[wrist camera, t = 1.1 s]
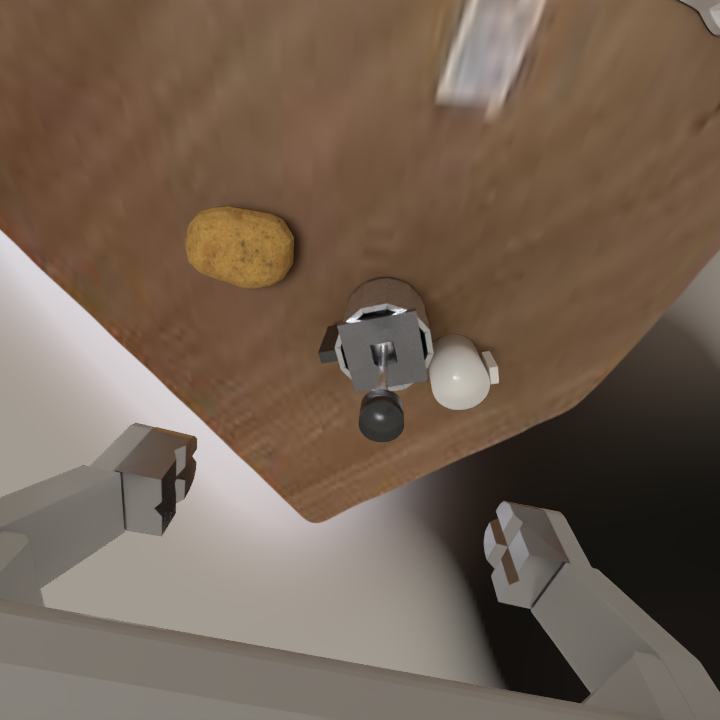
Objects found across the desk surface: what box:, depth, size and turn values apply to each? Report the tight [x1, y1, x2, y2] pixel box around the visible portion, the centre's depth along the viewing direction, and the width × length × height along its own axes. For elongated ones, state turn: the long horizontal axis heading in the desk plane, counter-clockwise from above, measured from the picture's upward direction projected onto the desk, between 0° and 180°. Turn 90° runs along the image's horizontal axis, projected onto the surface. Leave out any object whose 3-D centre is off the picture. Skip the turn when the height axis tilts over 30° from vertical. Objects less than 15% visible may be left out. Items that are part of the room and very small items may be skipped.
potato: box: [184, 206, 294, 289], centre depth 46 cm, size 9×13×7 cm
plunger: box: [359, 314, 404, 442], centre depth 37 cm, size 8×8×15 cm
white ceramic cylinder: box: [428, 334, 499, 410], centre depth 51 cm, size 8×7×8 cm
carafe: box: [318, 277, 434, 392], centre depth 47 cm, size 13×11×12 cm
